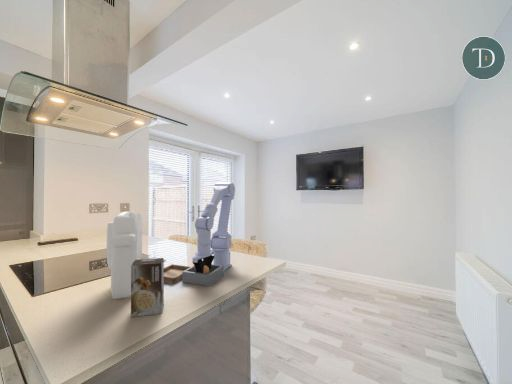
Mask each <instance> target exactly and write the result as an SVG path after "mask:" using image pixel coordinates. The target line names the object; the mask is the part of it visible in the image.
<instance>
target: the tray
mask: <svg viewBox="0 0 512 384" xmlns="http://www.w3.org/2000/svg"><path fill="white" fill-rule="evenodd" d="M190 267H191V266H187V265H182V264H181V265H179V264H170V265H168V266H164V283H165V284H171V285H174V284H176V283H179V282H180V281H182V271H184V270H186V269H188V268H190Z"/></svg>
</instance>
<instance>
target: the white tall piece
mask: <svg viewBox="0 0 512 384" xmlns="http://www.w3.org/2000/svg"><path fill="white" fill-rule="evenodd" d="M106 229H107V230H106V262H107V267H108V269H109V270H110V292H111V298H112V300H119V299H120V300H121V299H125V298H126V299H127V298H131V265H132V264H133V262H134V261H135V260H140V259H143V218H142V215H141V214H140V213H133V212H130V211H123V212H121V213H119V214H117V215H115V217H114V219H113V221H109V222H108V224H107V228H106Z"/></svg>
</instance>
